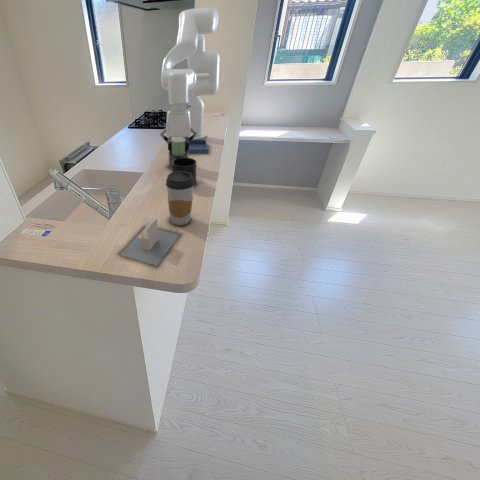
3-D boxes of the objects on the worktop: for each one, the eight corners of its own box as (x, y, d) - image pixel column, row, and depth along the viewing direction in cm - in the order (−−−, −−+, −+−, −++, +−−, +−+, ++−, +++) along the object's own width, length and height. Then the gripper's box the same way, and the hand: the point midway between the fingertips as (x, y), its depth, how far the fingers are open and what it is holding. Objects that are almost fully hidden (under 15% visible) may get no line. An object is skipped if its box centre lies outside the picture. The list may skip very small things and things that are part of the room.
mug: (198, 177, 112) (199, 156, 107) (193, 189, 103) (194, 167, 98) (176, 175, 114) (176, 154, 109) (169, 187, 105) (169, 165, 100)
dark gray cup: (169, 163, 126) (169, 149, 123) (188, 163, 126) (188, 149, 122) (168, 170, 119) (168, 156, 116) (188, 170, 119) (188, 156, 115)
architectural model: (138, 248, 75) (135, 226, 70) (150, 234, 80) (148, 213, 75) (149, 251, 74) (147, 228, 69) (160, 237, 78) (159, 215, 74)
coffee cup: (193, 213, 88) (194, 170, 80) (193, 227, 82) (194, 182, 73) (168, 213, 89) (166, 170, 80) (166, 227, 83) (164, 182, 74)
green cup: (171, 163, 125) (171, 138, 118) (185, 163, 124) (185, 137, 118) (171, 168, 120) (170, 142, 113) (185, 168, 119) (185, 142, 113)
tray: (180, 144, 149) (180, 140, 148) (205, 144, 148) (206, 139, 146) (179, 154, 136) (179, 149, 135) (207, 154, 135) (207, 149, 133)
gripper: (199, 104, 110) (197, 148, 121) (157, 106, 112) (159, 149, 122) (200, 108, 104) (198, 154, 115) (156, 110, 106) (158, 154, 116)
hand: (178, 151), depth 118 cm, fingers closed on green cup, 6 cm apart
